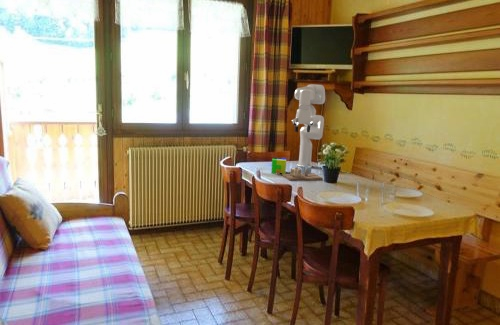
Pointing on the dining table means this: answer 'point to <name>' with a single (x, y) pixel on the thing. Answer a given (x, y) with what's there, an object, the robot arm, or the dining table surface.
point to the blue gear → (305, 168)
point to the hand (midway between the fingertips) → (302, 132)
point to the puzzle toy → (278, 165)
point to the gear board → (301, 175)
